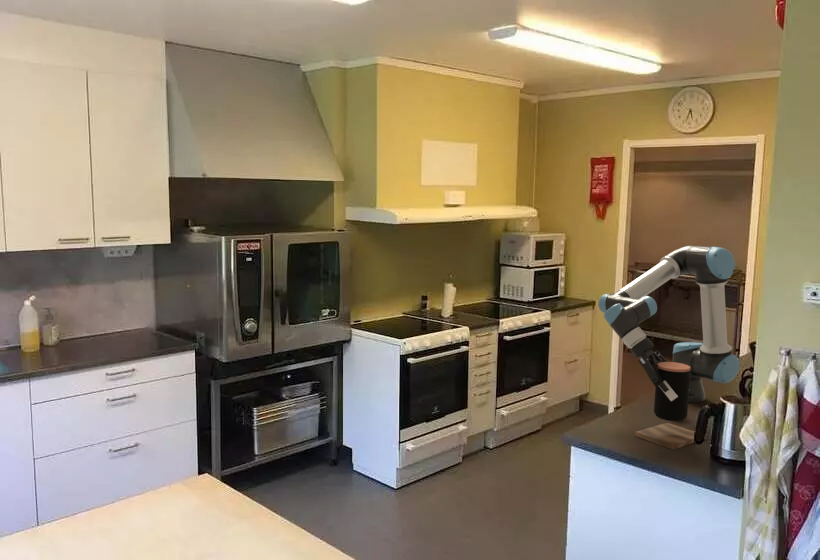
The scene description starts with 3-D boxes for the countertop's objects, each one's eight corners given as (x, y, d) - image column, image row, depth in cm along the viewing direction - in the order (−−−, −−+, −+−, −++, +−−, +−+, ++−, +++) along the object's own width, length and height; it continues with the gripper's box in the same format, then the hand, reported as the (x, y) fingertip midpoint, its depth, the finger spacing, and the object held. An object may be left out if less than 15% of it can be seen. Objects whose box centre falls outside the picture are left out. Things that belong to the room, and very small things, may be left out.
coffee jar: (681, 412, 235) (685, 362, 233) (691, 422, 224) (695, 370, 222) (650, 411, 236) (653, 361, 234) (658, 421, 225) (661, 368, 223)
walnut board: (666, 426, 242) (666, 422, 242) (705, 439, 230) (705, 435, 230) (635, 435, 232) (635, 431, 232) (673, 449, 220) (673, 445, 220)
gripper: (643, 344, 246) (683, 394, 238) (616, 354, 229) (659, 408, 220) (658, 332, 242) (700, 382, 234) (633, 341, 225) (677, 396, 216)
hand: (680, 395), depth 227 cm, fingers closed on coffee jar, 11 cm apart
